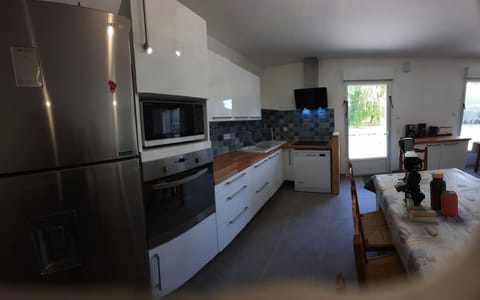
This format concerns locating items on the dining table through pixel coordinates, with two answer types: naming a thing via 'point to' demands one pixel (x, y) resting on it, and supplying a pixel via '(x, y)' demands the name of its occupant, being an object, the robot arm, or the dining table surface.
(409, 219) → the mat
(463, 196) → the dining table surface
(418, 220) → the slab bottom
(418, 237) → the dining table surface
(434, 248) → the dining table surface
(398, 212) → the dining table surface
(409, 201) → the sage block
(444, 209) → the beer can
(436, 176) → the bottle
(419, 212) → the slab top
